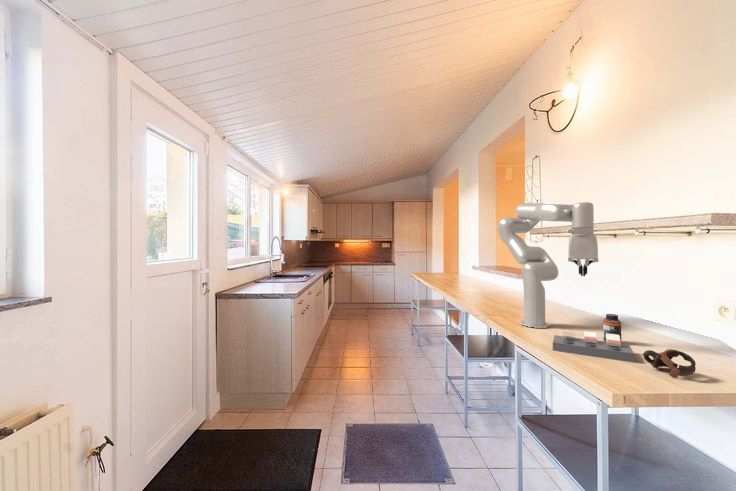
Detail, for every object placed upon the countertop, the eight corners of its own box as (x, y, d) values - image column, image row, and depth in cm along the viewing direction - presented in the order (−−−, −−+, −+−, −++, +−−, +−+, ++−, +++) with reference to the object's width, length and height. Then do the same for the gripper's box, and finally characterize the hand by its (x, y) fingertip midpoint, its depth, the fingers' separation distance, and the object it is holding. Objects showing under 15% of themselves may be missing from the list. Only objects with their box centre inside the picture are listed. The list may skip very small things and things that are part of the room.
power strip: (554, 342, 132) (554, 334, 132) (629, 352, 119) (629, 343, 119) (552, 350, 122) (552, 341, 122) (634, 362, 109) (634, 352, 109)
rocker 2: (605, 337, 123) (605, 333, 122) (619, 339, 120) (619, 334, 120) (607, 346, 118) (607, 341, 117) (620, 348, 116) (621, 343, 115)
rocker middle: (583, 336, 126) (583, 331, 126) (596, 337, 124) (596, 332, 124) (584, 343, 122) (584, 338, 121) (597, 345, 119) (597, 339, 119)
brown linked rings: (687, 372, 102) (698, 354, 98) (688, 394, 96) (700, 376, 92) (639, 355, 109) (648, 337, 105) (637, 375, 102) (646, 357, 98)
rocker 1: (562, 336, 130) (562, 331, 130) (574, 338, 128) (574, 332, 128) (562, 337, 125) (562, 332, 125) (574, 339, 123) (574, 333, 123)
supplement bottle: (615, 340, 135) (615, 313, 135) (625, 344, 129) (625, 316, 129) (600, 339, 136) (599, 313, 136) (609, 344, 130) (609, 316, 130)
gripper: (561, 232, 136) (561, 275, 136) (605, 231, 128) (605, 277, 128) (562, 233, 142) (562, 274, 142) (604, 232, 134) (604, 276, 134)
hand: (582, 275), depth 135 cm, fingers closed
